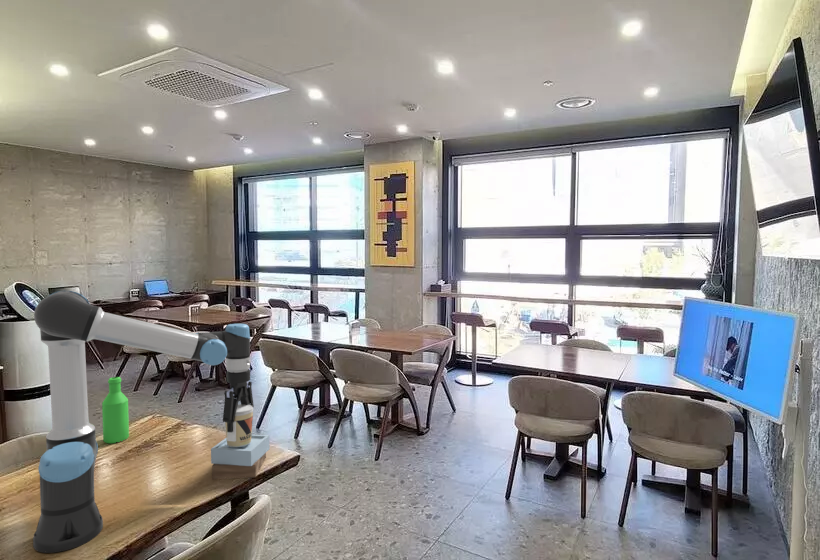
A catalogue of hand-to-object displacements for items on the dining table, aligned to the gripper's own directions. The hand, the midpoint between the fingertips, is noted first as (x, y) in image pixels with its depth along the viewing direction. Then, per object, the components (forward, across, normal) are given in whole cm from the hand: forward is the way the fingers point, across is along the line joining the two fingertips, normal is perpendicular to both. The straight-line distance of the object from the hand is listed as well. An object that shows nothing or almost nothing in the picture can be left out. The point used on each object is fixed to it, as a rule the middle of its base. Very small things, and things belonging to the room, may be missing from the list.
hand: (239, 435), depth 162 cm
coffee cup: (+3, 0, 0) cm, 3 cm away
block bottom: (+13, +1, 0) cm, 13 cm away
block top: (+8, +1, 0) cm, 8 cm away
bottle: (+12, +17, +62) cm, 65 cm away
